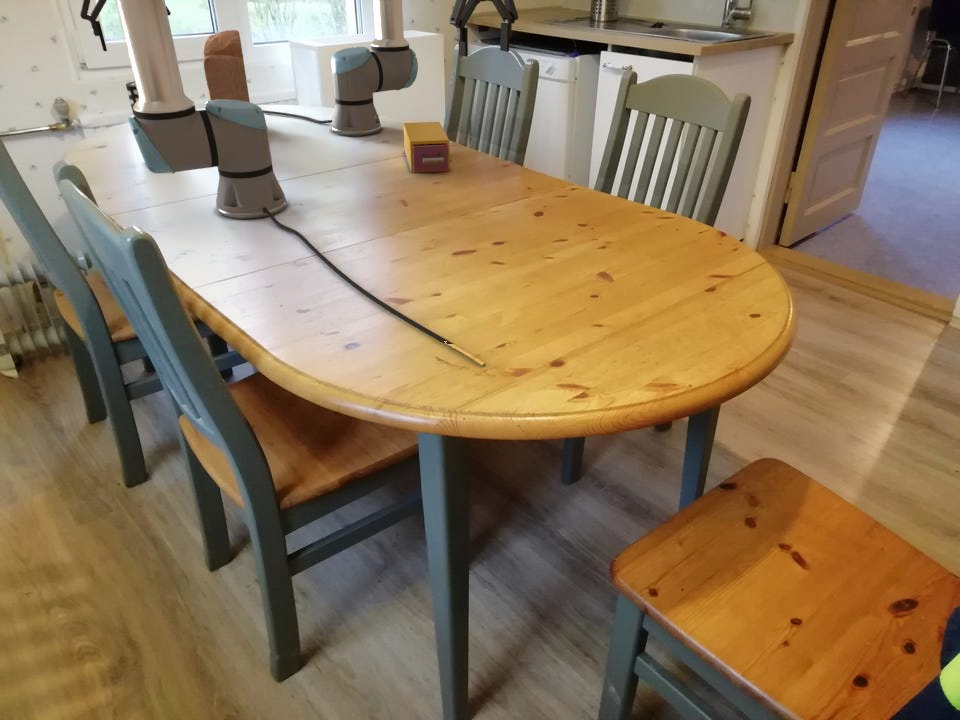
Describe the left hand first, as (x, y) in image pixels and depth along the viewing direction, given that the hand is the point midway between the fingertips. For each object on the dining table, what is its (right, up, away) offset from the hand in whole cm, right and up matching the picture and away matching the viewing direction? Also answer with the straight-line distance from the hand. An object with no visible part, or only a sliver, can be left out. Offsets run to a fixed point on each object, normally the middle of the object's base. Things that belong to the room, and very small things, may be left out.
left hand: (134, 48), depth 174 cm
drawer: (+73, -26, +11) cm, 79 cm away
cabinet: (+72, -24, +16) cm, 78 cm away
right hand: (+88, 0, +2) cm, 88 cm away
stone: (+12, -8, +39) cm, 42 cm away
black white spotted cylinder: (+1, -16, +7) cm, 18 cm away
